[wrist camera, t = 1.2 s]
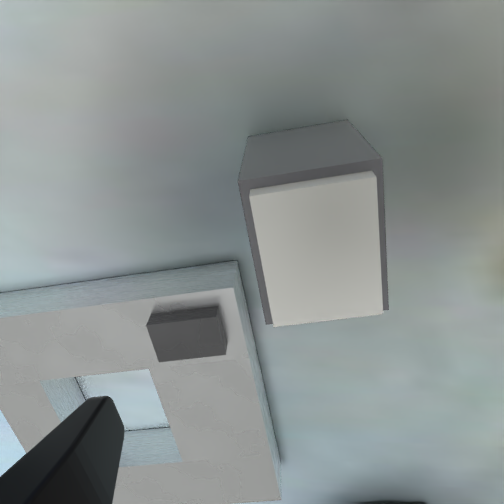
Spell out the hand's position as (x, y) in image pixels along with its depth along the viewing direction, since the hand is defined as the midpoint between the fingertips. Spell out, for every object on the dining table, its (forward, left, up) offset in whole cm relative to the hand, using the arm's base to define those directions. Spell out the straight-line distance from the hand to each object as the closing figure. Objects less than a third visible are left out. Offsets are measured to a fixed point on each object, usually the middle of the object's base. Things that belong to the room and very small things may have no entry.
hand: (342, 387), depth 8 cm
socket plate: (-10, +10, -12) cm, 18 cm away
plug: (0, 0, -12) cm, 12 cm away
